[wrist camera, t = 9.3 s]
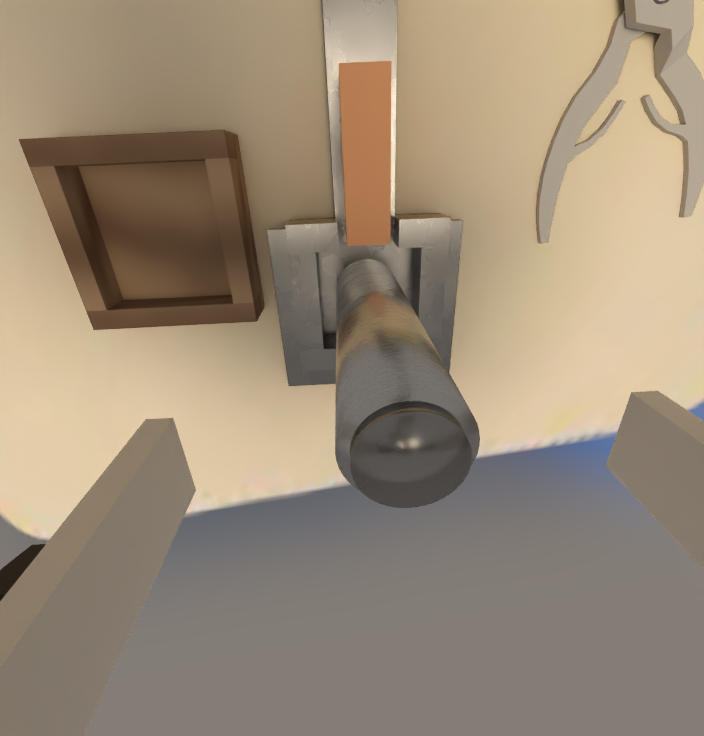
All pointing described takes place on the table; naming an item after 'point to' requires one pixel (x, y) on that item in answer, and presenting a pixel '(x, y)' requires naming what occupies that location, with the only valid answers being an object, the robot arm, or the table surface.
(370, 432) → the grey cylindrical peg
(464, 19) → the table surface
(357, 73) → the orange rectangular bar
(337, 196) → the socket
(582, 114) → the pliers
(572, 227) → the table surface
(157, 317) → the tray
